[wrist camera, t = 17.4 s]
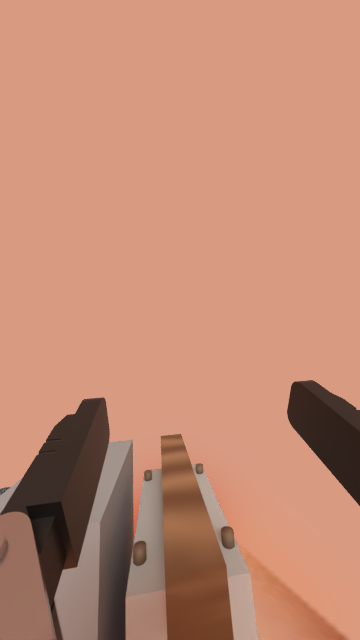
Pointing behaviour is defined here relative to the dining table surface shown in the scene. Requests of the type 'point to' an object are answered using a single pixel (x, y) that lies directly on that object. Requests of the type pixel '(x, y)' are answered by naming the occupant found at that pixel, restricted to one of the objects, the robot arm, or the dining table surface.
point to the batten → (191, 554)
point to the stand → (137, 560)
